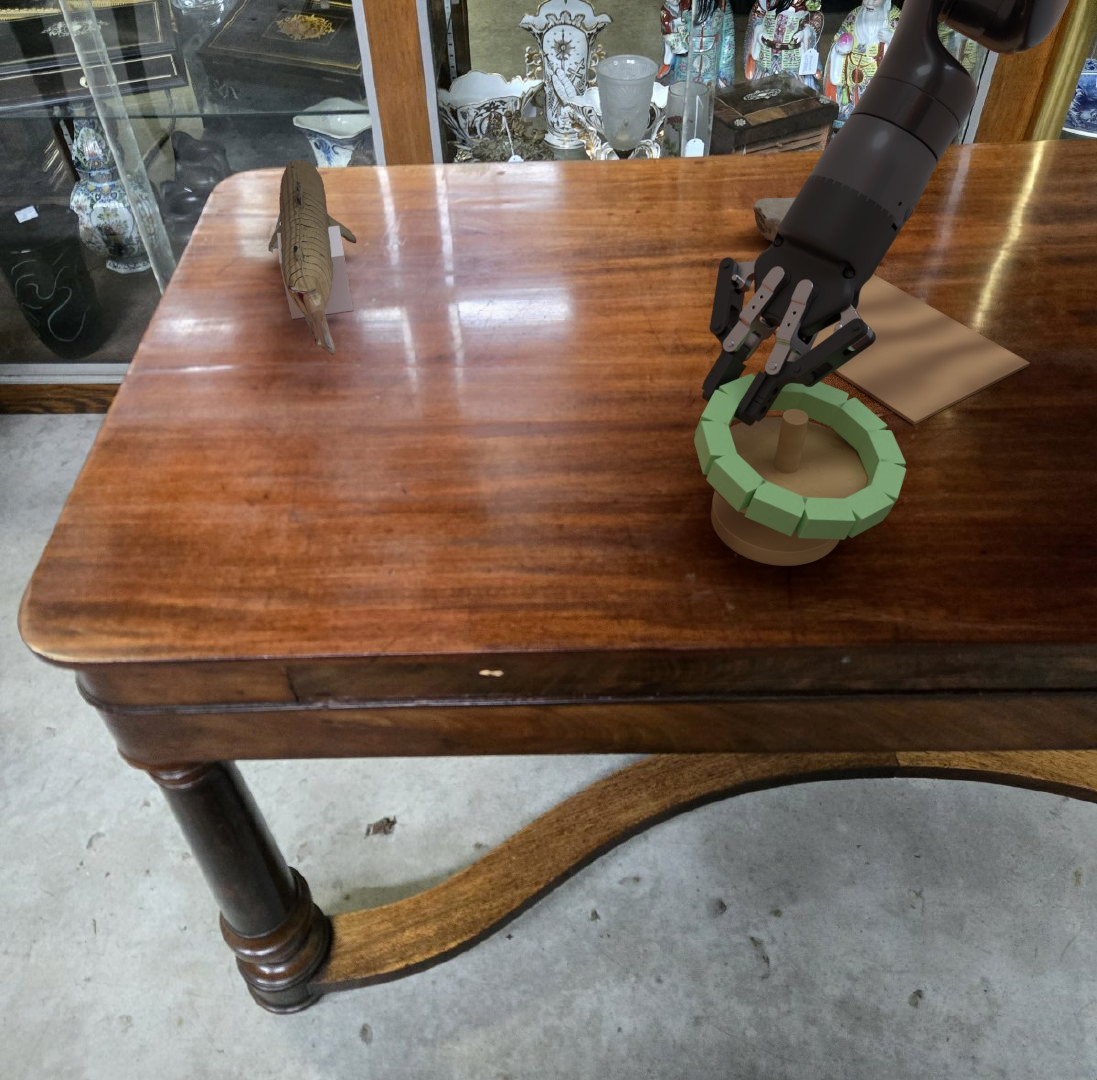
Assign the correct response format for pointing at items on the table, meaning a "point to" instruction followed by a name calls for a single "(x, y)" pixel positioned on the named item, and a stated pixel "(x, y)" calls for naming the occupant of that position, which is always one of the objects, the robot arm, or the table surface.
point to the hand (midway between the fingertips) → (726, 411)
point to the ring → (786, 506)
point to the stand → (788, 483)
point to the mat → (919, 355)
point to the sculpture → (771, 215)
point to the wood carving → (311, 251)
